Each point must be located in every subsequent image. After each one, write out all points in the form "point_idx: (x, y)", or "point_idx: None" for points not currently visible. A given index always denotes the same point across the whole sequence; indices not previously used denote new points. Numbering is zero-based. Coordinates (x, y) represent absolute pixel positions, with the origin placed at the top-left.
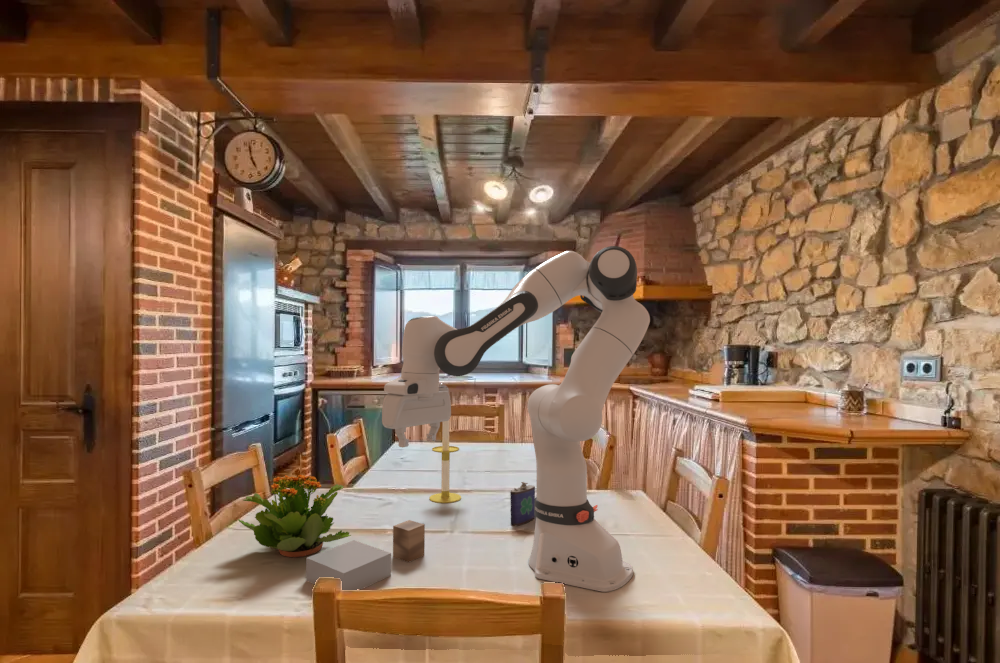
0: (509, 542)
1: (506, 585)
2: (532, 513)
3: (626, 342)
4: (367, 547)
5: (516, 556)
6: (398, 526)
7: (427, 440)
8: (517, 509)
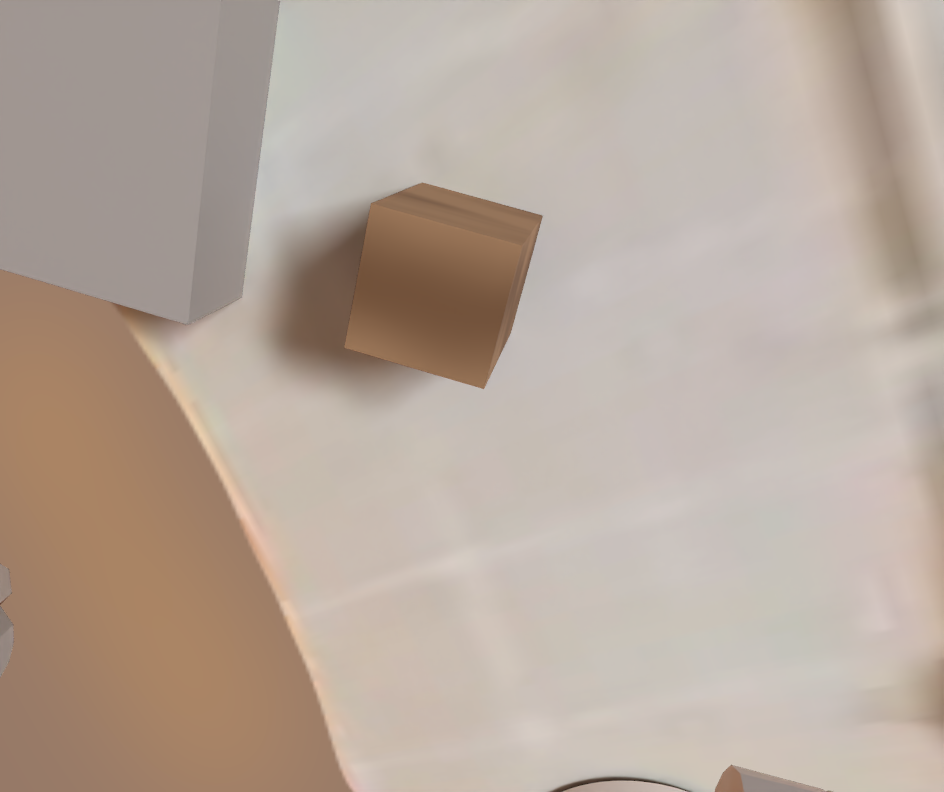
0: (826, 667)
1: (379, 737)
2: None
3: None
4: (178, 153)
5: (656, 724)
6: (379, 243)
7: (731, 782)
8: None
